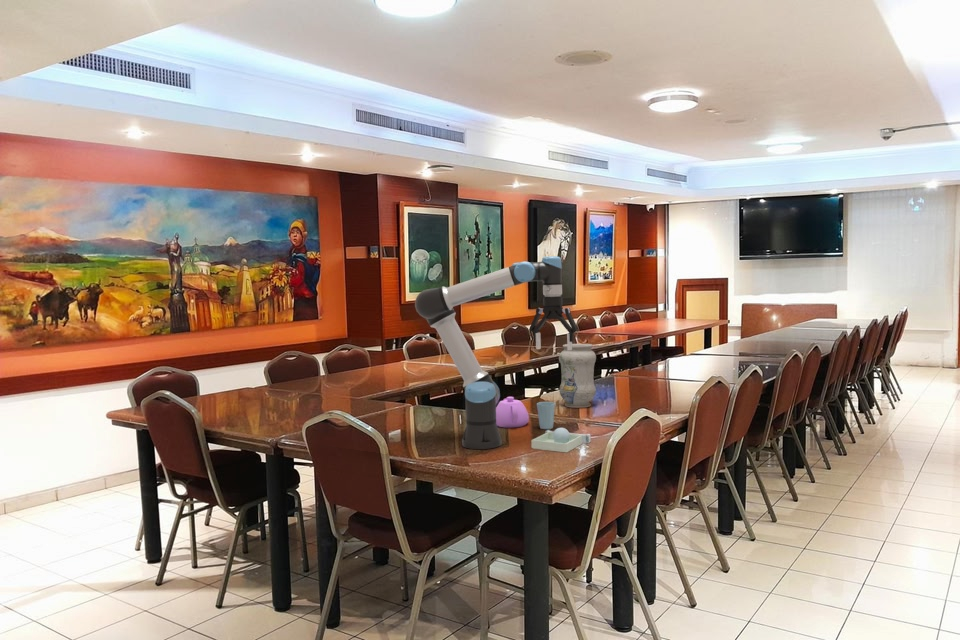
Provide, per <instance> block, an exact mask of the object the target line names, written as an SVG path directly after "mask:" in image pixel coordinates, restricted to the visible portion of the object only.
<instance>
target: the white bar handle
mask: <svg viewBox="0 0 960 640" xmlns="http://www.w3.org/2000/svg"><path fill="white" fill-rule="evenodd" d="M554 431H555V430H551V429H546V430H545V432H544V434H545V433H547V432H551V433H553V432H554ZM569 434H571V435H580V436H582V444H589V443H591V434H590V433H587V434H584V433H583V434H582V433H581V434H580V433H573V432H569Z"/></svg>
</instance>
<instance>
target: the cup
mask: <svg viewBox="0 0 960 640" xmlns="http://www.w3.org/2000/svg"><path fill="white" fill-rule="evenodd" d="M555 408H556V403H555V402H553V401H539V402H537V403H536V409H537V417H538V423H539V428H540V429H541V430H551V429H554V421H555Z"/></svg>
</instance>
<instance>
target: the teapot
mask: <svg viewBox="0 0 960 640" xmlns="http://www.w3.org/2000/svg"><path fill="white" fill-rule="evenodd" d="M529 420H530V417H529V413H528V410H527V408H526V406H525V404H524V403H523V402H522V401H521V400H518V399H515V397H514V396H507V397H506V398H503V400H499V401H498V403H497V405H496V424H497V427H499V428H505V429H508V428H509V429H510V428H511V429H512V428H513V429H514V428H522V427H525V426H526V425H527V424H528V422H529Z"/></svg>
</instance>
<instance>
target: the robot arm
mask: <svg viewBox="0 0 960 640" xmlns="http://www.w3.org/2000/svg"><path fill="white" fill-rule="evenodd" d="M562 271H563V267H562V258H561V257H560V256H543V257H542V258H541V261H537V262H534V261H531V262H529V261H521V262H520V261H519V262H514V263H512V264H511V265H510V266H507V267H504V268H502V269H498V270H496V271H492V272H490V273H487V274H483V275H480V276H478V277H475V278H472V279H469V280H466V281H462V282H460V283H456V284H454V285H451V286H440V287H435V288H434V287H432V288H429V289H428V288H427V289H424V290H422V291H420V293H419V292H418V295H417V296H416V298H415V301H414V307H415V310H416V313H418V314H419V316H420V317H422V318H424V319H425V320H426V321H427V323H428V325H429V326H430V328H432V329H433V328H434V329H435V330H436V331H437V334H438V336H439V337H440V339H441V341H442V343H443V345H444V346H445V349H446V351H447V353H448V354H449V355H450V357H451V359H452V361H453V363H454V365H455V366H456V369H457V371H458V373H459V374H460V376H461V378H462V380H463V384H462V387H463V388H462V389H464V399H465V427H464V431H463V436H462V438H461V445H462V447H464V448H466V449H470V450H486V449H488V450H489V449H494V448H498V447H500V446H502V445H503V444H502V436H501V433H500V430H499V428H498V427H499V426H497V424H496V407H497V405H498V404H499V402H500V398H501V393H500V392H501V391H500V388H499V386H498V385H497V383H496V382H495V381H494V380H493V379H492V377H491V375H490V373H489V372H488V371H484V370H483V369H482V366H481V365H480V363H479V361H478V359H477V358H476V355H475V354H474V352H473V350H472V348H471V346H470V345H469V343H468V341H467V339H466V338H465V335H464V334H463V332H462V329H461V327H460V326H459V325H458V321H456V319H455V317H456V314H457V313H456V311H455V310H454V307H456V306H459V305H462V304H465V303H467V302H468V303H469V302H471V301H474V300H477V299H479V298H480V299H481V298H482V297H485V296H489V295H492V294H494V293H497V292H500V291H503V290H507V289H509V288H513V287H516V286H519V285H521V284H525V283H528V282H542V294H543V297H542V300H543V301H542V303H543V308H541V307H537V308H536V309H535V315H534V317H533V319H532V321H531V325H530V326H529V329H528V330H529V332H532V333H533V341H535V350H540V349H541V350H542V347H541V346H542V344H541V343H542V339H541V332H540V330H541V329H543V326H545V323H546V322H547V321H548V320H553V321H554V320H558V321H559V322H560V323H561V325H563V327H564V329H565V330H566V331H567V332H568V333H567V334H566V335H567V336H566V338H567V340H566V344H567V350H572V344H573V342H574V341H575V340H574V339H575V333H576V332H579V328H578V326H577V323H576V322H575V319H574V317H573V315H572V313H571V308H570V307H565V308H563V297H562V295H563V285H562V284H563V272H562ZM542 313H543V314H544V315H543V316H542ZM563 313H564V315H565V316H563ZM541 316H542V318H541ZM565 317H566V319H567V320H566V319H565ZM540 318H541V319H540Z"/></svg>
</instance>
